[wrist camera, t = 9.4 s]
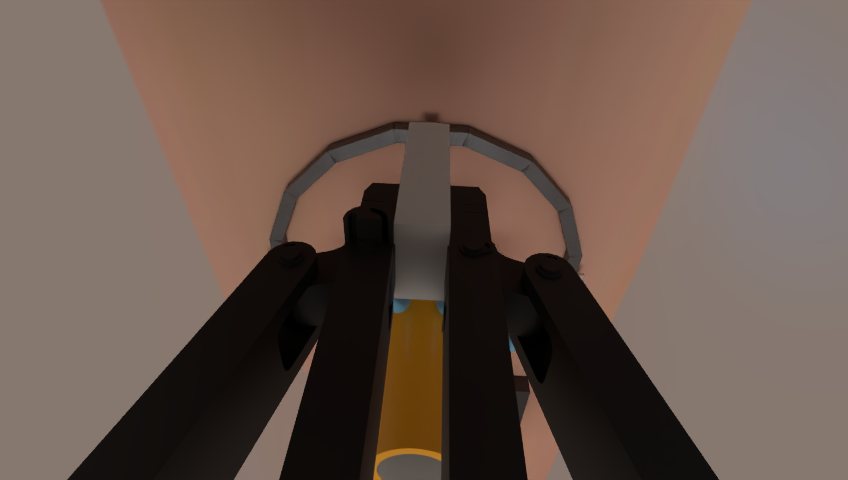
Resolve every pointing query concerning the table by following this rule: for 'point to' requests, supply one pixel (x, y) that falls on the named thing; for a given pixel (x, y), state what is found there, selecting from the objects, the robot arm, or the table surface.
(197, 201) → the table surface
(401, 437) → the cylinder
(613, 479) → the robot arm
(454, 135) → the centring ring
